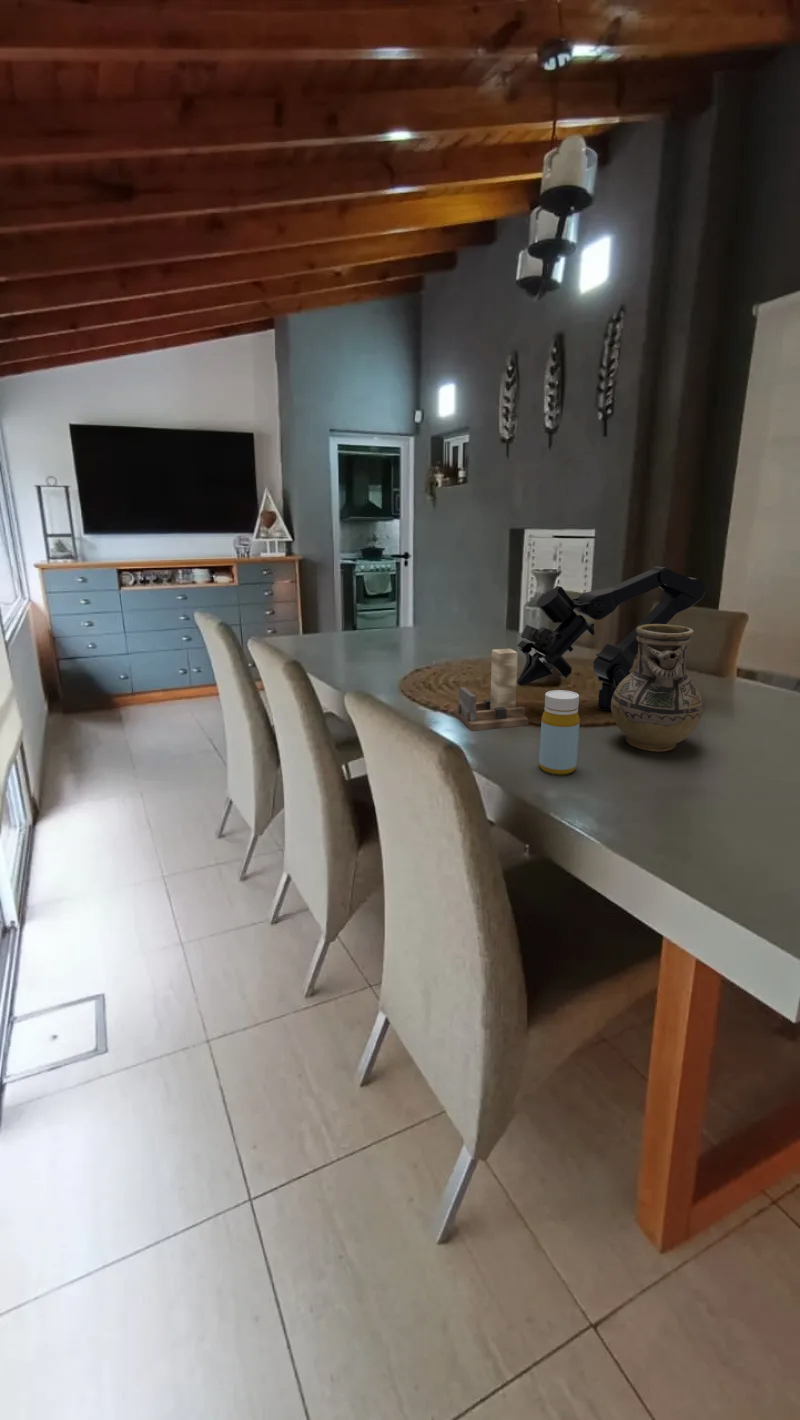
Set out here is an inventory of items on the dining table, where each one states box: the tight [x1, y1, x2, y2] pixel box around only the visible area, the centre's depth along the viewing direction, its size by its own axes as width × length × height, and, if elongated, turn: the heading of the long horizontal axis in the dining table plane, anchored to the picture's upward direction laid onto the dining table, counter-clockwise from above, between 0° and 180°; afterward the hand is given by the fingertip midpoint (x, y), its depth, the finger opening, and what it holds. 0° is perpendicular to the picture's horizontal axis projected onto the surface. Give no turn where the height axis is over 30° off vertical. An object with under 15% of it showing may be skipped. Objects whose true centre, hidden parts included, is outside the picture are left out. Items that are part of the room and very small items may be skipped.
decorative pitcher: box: [610, 623, 704, 753], centre depth 133 cm, size 22×18×25 cm
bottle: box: [538, 689, 581, 776], centre depth 123 cm, size 7×7×15 cm
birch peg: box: [489, 648, 519, 710], centre depth 152 cm, size 4×4×15 cm
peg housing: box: [453, 686, 529, 732], centre depth 152 cm, size 14×12×8 cm
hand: (518, 684), depth 153 cm, fingers closed
